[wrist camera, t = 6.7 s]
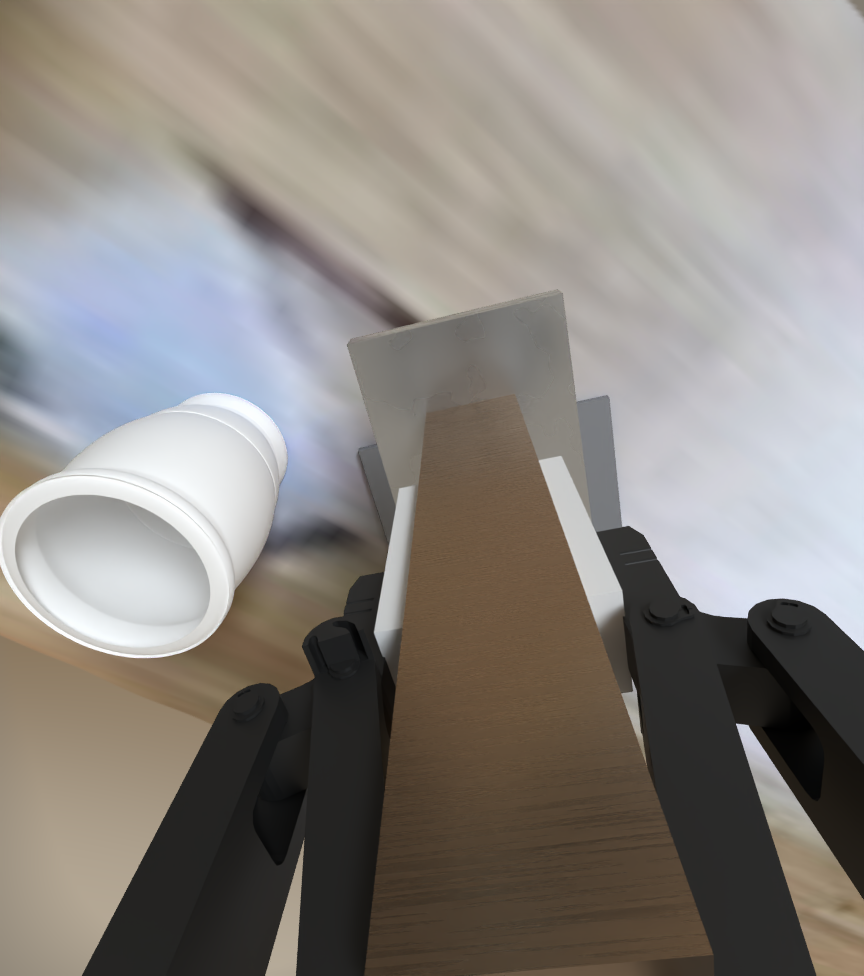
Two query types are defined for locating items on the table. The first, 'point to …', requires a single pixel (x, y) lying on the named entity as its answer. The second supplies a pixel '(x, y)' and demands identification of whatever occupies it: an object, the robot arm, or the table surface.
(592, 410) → the slate rubber mat
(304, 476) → the table surface
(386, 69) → the table surface
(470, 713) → the tall wooden post
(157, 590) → the jar
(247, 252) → the table surface
